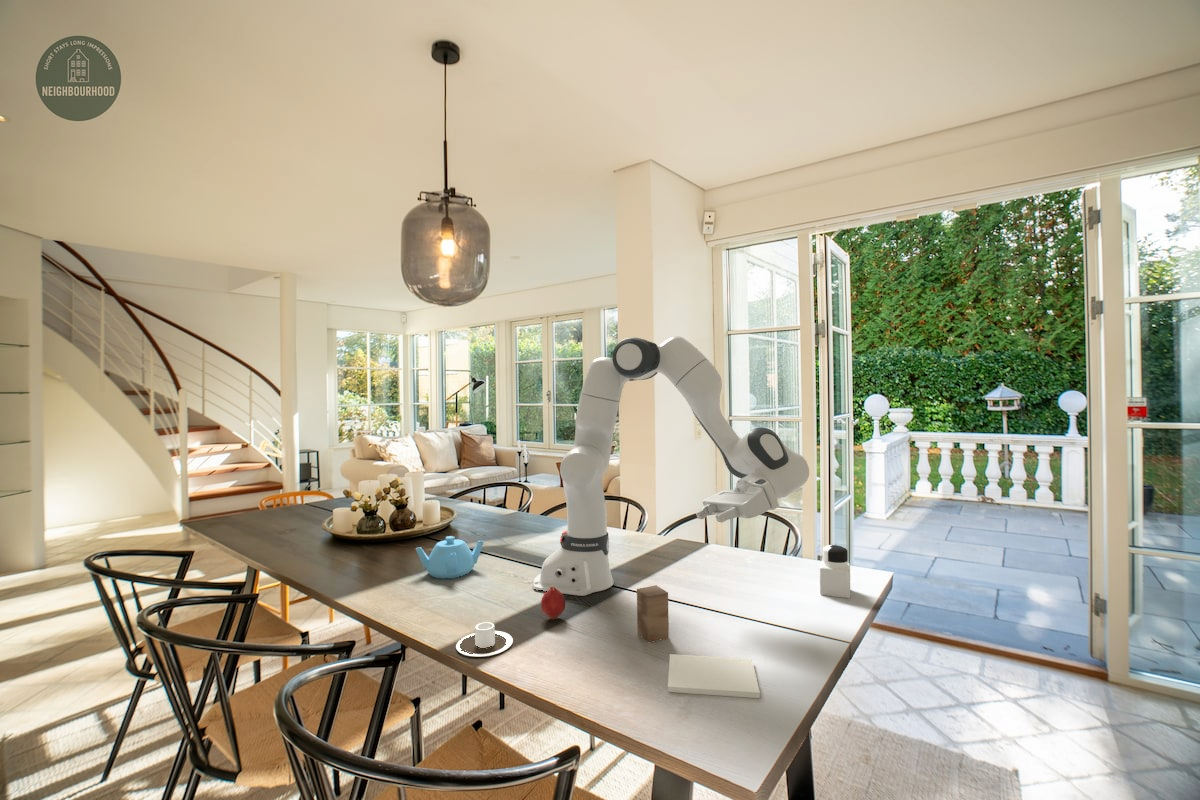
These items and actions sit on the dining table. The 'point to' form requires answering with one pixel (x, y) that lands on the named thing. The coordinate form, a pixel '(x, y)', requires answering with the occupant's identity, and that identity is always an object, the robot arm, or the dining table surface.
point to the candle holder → (486, 639)
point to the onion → (553, 603)
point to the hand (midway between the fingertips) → (707, 517)
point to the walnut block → (652, 613)
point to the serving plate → (712, 676)
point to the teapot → (450, 558)
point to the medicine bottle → (835, 572)
